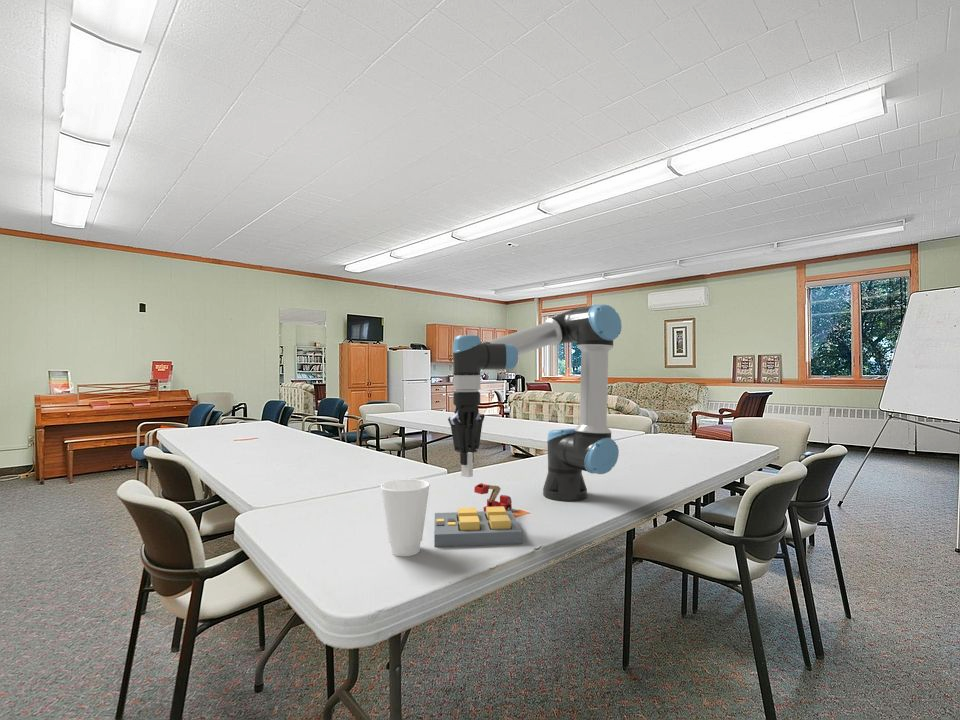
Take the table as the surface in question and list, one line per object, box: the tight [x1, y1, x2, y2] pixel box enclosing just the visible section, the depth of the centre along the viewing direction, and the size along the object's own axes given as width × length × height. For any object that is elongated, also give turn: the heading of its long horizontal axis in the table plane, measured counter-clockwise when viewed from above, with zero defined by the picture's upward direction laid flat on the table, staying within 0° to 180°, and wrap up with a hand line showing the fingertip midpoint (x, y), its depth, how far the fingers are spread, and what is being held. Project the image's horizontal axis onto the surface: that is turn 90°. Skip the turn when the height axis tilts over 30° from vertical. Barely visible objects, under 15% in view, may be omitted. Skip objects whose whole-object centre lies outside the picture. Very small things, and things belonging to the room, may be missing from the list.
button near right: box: [459, 516, 480, 531], centre depth 125 cm, size 5×5×3 cm
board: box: [433, 510, 523, 548], centre depth 129 cm, size 22×18×3 cm
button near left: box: [489, 515, 511, 530], centre depth 125 cm, size 5×5×3 cm
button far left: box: [485, 506, 507, 520], centre depth 133 cm, size 5×5×3 cm
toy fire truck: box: [473, 482, 513, 512], centre depth 146 cm, size 3×14×10 cm, turn 134°
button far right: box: [457, 506, 478, 519], centre depth 133 cm, size 5×5×3 cm
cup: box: [380, 478, 431, 557], centre depth 116 cm, size 12×12×16 cm
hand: (467, 476), depth 133 cm, fingers closed
